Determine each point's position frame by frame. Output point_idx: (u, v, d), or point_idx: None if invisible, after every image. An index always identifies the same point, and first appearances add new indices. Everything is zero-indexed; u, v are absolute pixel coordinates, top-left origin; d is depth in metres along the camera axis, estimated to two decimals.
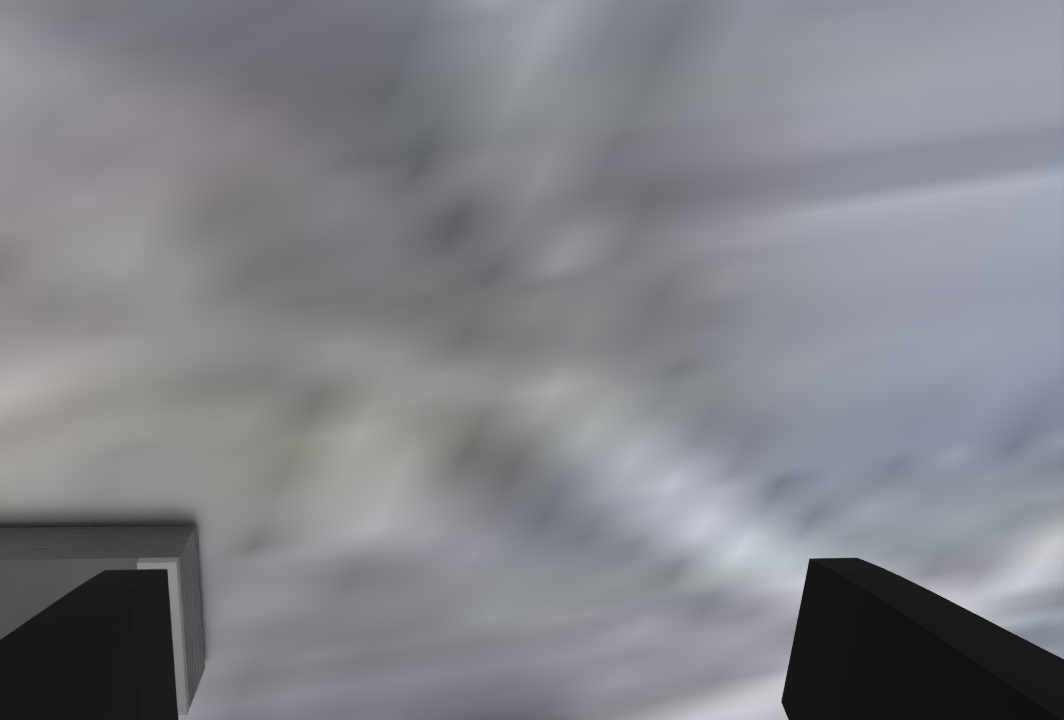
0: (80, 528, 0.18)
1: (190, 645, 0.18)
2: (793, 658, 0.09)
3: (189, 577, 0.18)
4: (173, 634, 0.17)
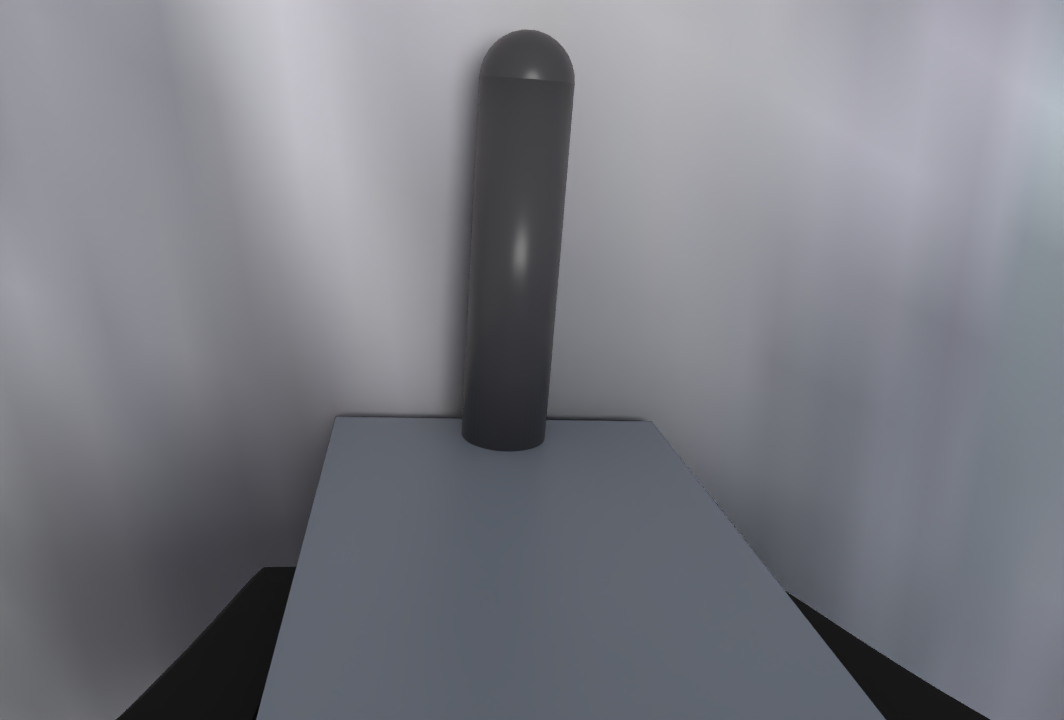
0: None
1: None
2: None
3: None
4: None
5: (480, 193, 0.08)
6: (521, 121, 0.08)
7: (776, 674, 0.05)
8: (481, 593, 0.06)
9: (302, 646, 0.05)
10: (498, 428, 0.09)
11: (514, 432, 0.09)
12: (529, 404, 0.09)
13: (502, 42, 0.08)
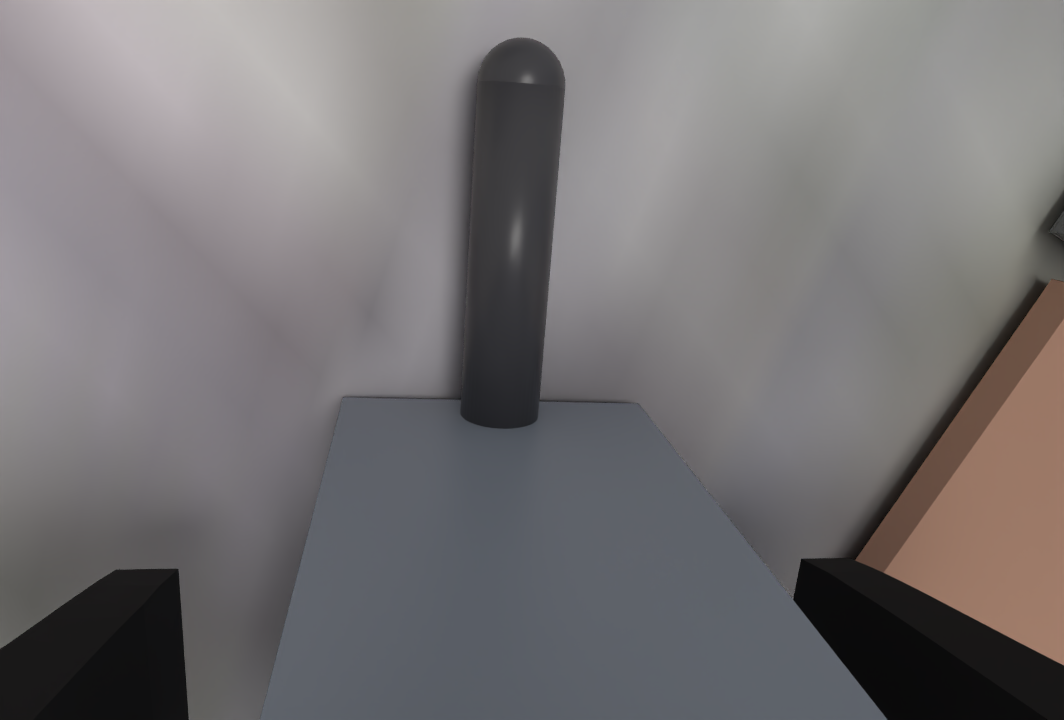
0: None
1: None
2: None
3: None
4: None
5: (478, 188, 0.09)
6: (516, 122, 0.08)
7: (739, 614, 0.06)
8: (478, 547, 0.07)
9: (318, 588, 0.06)
10: (494, 407, 0.09)
11: (509, 410, 0.09)
12: (523, 384, 0.09)
13: (498, 49, 0.08)
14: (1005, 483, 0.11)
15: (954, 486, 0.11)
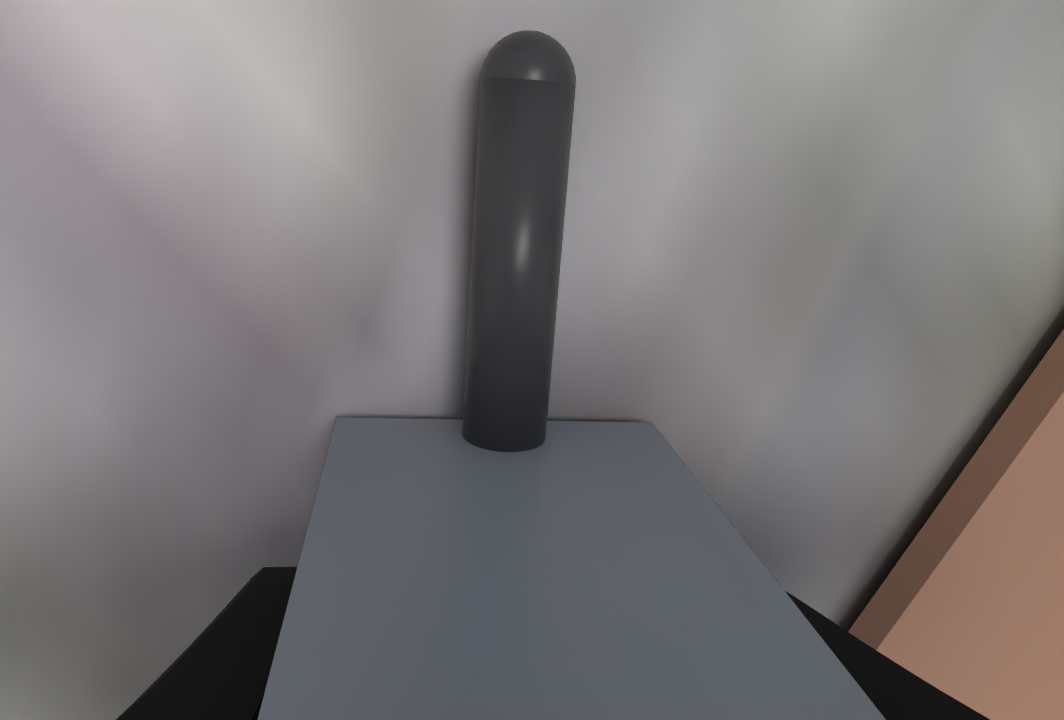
0: None
1: None
2: None
3: None
4: None
5: (481, 194, 0.08)
6: (522, 122, 0.08)
7: (777, 675, 0.05)
8: (482, 593, 0.06)
9: (303, 647, 0.05)
10: (499, 429, 0.09)
11: (515, 433, 0.09)
12: (530, 405, 0.09)
13: (503, 43, 0.08)
14: (1042, 506, 0.11)
15: (988, 509, 0.10)
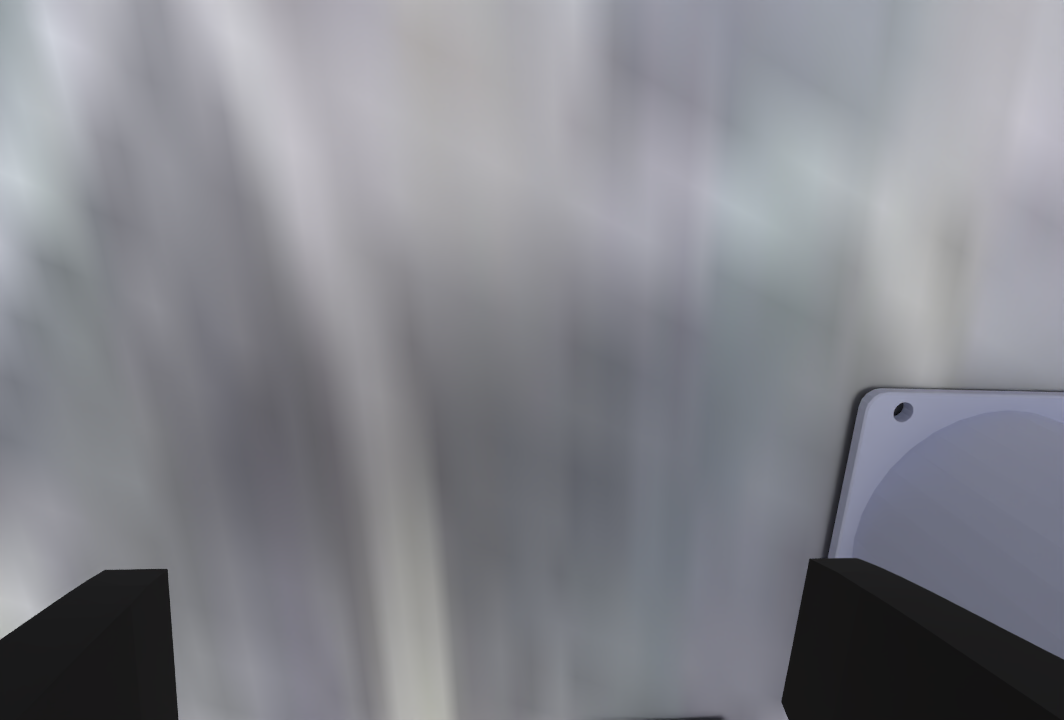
0: None
1: None
2: (793, 658, 0.09)
3: None
4: None
5: None
6: None
7: None
8: None
9: None
10: None
11: None
12: None
13: None
14: None
15: None
